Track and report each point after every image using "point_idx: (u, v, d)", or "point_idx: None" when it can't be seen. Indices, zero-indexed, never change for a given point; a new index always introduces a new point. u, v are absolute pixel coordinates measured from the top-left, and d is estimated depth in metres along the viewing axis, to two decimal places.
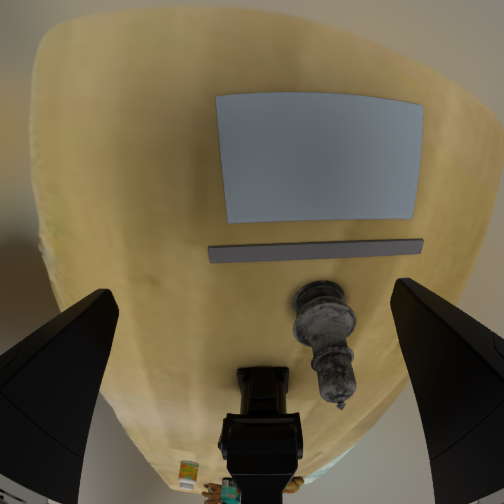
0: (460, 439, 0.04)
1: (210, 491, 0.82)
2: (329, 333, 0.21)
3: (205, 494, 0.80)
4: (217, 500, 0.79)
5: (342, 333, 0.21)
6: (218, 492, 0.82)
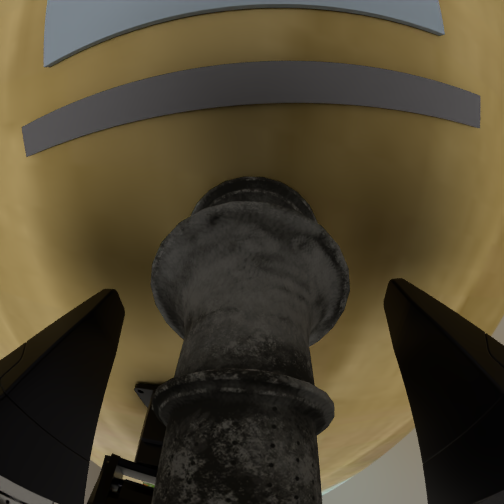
0: (452, 442, 0.04)
1: None
2: (230, 311, 0.05)
3: None
4: None
5: (293, 315, 0.06)
6: None
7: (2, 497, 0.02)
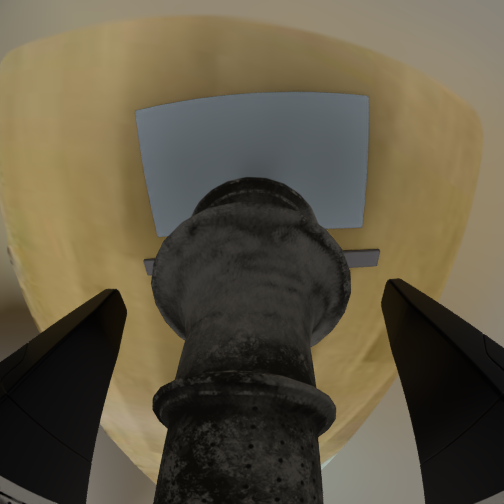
0: (450, 444, 0.04)
1: None
2: (215, 315, 0.05)
3: None
4: None
5: (281, 309, 0.06)
6: None
7: (4, 499, 0.01)
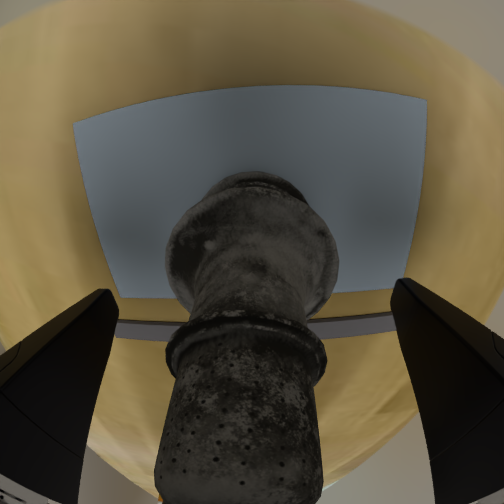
0: (460, 439, 0.04)
1: None
2: (299, 297, 0.07)
3: None
4: None
5: None
6: None
7: None
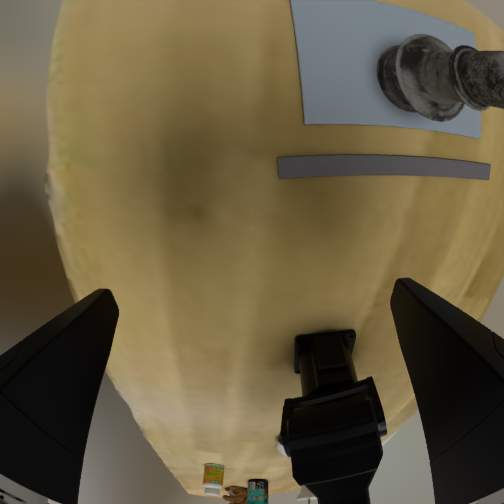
0: (460, 439, 0.04)
1: (232, 494, 0.76)
2: None
3: (226, 498, 0.74)
4: (239, 503, 0.73)
5: None
6: (240, 495, 0.76)
7: None
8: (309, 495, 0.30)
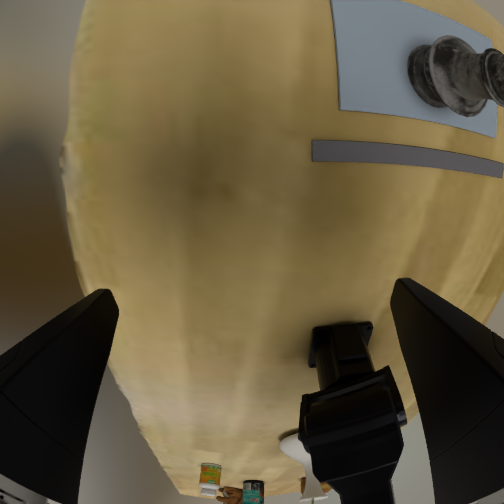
0: (460, 439, 0.04)
1: (225, 495, 0.74)
2: None
3: (220, 498, 0.72)
4: None
5: None
6: (234, 496, 0.74)
7: None
8: (313, 495, 0.29)
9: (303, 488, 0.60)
